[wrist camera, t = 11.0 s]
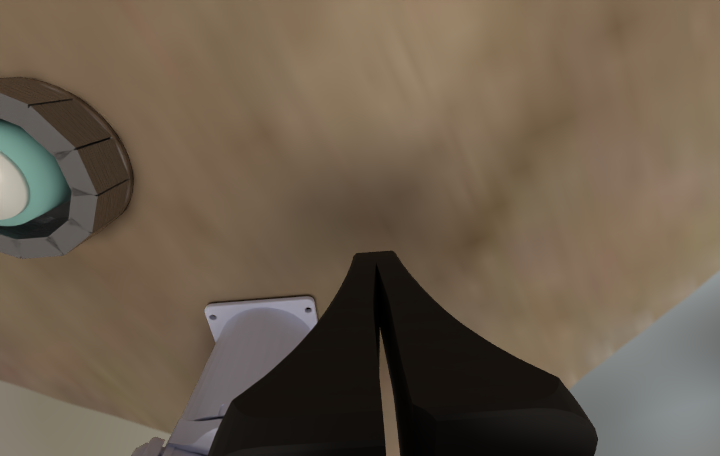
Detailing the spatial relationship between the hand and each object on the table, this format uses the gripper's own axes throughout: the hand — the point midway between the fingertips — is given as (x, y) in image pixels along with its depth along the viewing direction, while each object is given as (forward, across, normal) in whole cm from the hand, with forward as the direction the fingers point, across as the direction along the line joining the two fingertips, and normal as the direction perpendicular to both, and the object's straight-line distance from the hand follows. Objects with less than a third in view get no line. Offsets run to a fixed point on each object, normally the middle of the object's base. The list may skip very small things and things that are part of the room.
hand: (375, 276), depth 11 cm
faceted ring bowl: (+10, +18, -2) cm, 21 cm away
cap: (+10, +18, -3) cm, 21 cm away
